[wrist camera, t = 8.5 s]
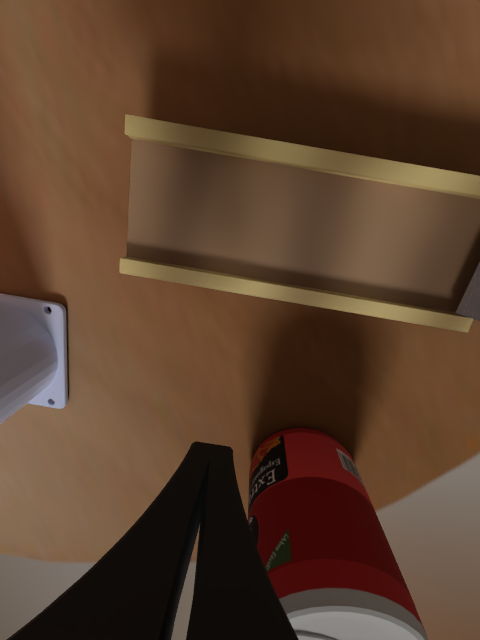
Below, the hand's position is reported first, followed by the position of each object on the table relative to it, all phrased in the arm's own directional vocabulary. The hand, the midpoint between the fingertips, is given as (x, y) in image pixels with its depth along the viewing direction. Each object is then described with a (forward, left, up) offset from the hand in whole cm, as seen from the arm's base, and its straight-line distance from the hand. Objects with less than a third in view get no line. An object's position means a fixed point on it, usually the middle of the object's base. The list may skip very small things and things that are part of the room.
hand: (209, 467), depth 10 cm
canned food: (+7, -9, -11) cm, 15 cm away
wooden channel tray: (+3, +8, -10) cm, 14 cm away
